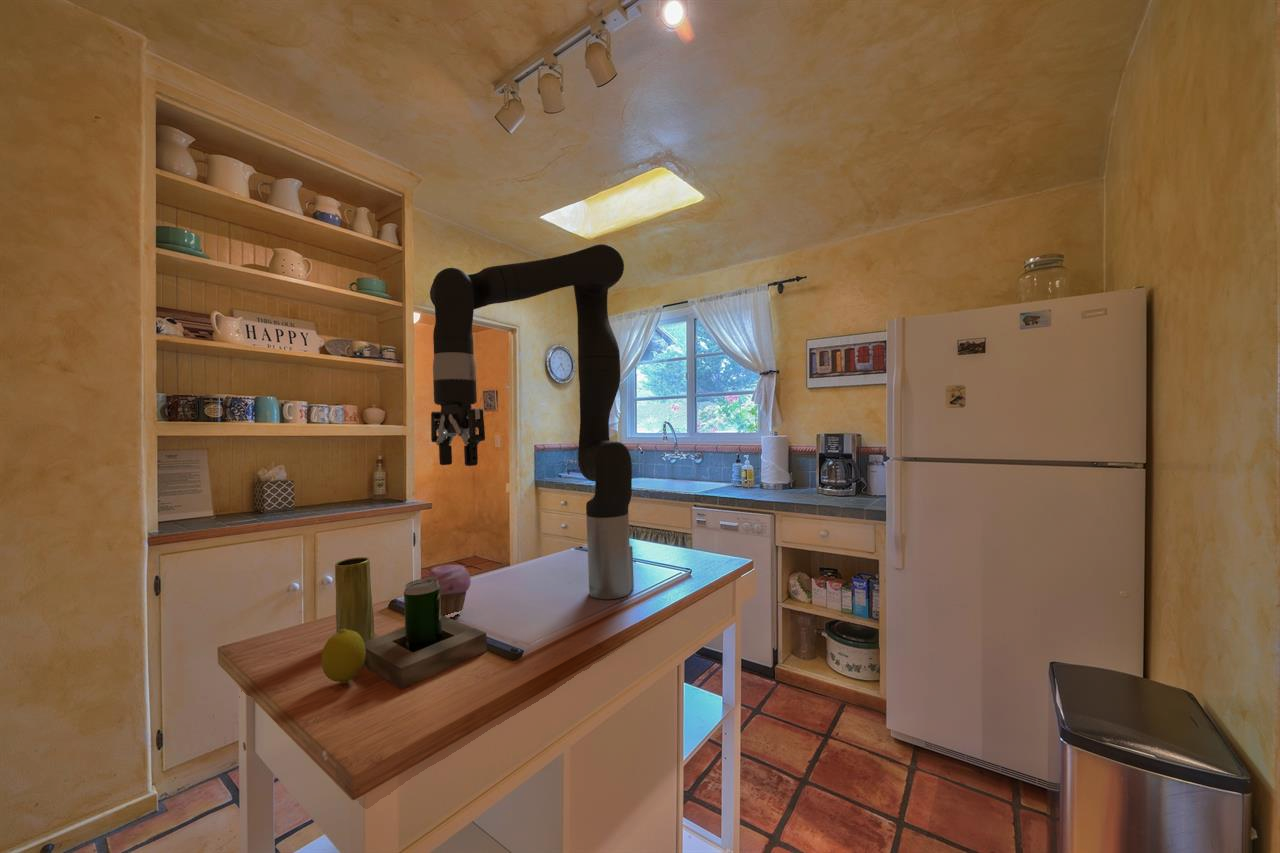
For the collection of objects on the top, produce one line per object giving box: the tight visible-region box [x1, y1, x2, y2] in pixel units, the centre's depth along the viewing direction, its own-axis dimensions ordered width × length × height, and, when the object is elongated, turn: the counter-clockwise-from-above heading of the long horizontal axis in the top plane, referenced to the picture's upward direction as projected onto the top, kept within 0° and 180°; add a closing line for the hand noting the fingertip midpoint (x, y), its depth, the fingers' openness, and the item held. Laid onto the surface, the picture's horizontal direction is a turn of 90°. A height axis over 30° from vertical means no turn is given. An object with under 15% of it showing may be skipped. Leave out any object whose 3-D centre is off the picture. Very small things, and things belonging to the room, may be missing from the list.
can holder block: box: [363, 615, 488, 690], centre depth 78 cm, size 14×14×3 cm
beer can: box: [403, 577, 442, 652], centre depth 78 cm, size 5×5×12 cm
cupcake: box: [426, 564, 472, 616], centre depth 96 cm, size 9×9×10 cm
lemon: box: [321, 629, 366, 685], centre depth 71 cm, size 6×6×8 cm
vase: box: [334, 556, 376, 642], centre depth 85 cm, size 6×6×14 cm
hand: (458, 465), depth 91 cm, fingers open, 8 cm apart
